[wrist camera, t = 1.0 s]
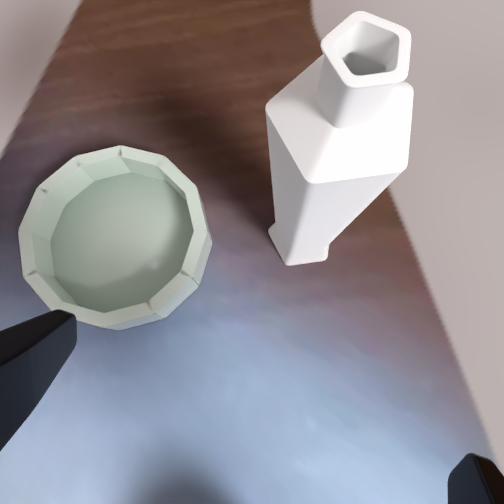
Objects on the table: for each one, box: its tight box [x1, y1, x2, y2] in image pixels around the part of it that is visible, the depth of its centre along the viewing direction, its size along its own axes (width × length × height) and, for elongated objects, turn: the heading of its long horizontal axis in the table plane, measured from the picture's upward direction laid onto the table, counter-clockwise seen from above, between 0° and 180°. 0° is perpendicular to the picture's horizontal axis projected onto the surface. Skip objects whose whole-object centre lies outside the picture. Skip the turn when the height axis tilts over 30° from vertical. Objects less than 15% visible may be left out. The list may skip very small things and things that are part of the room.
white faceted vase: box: [265, 11, 414, 265], centre depth 16 cm, size 5×4×15 cm
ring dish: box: [18, 145, 212, 330], centre depth 23 cm, size 10×10×2 cm
